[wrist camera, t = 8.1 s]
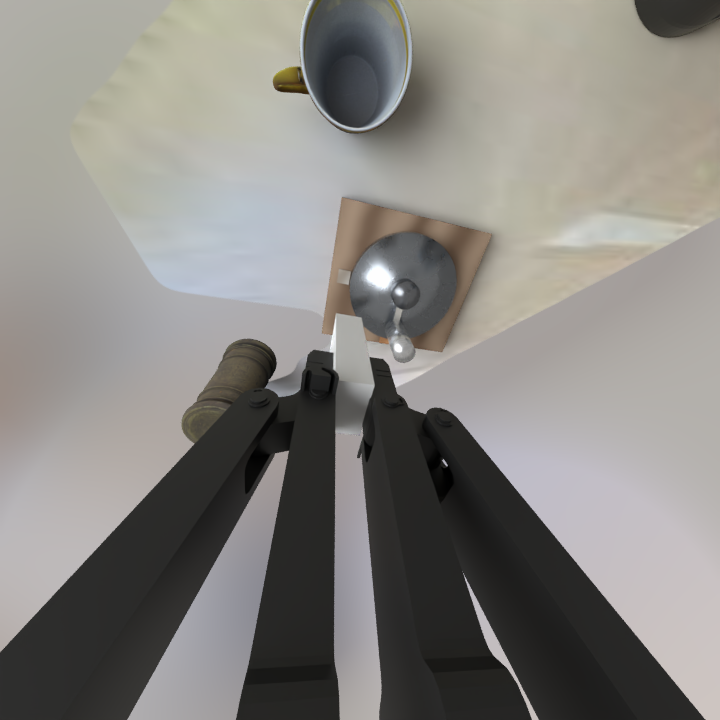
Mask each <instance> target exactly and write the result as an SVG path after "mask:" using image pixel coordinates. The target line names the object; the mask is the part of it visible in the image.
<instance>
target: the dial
mask: <svg viewBox="0 0 720 720" xmlns="http://www.w3.org/2000/svg"><path fill="white" fill-rule="evenodd" d="M456 284H457V277H456V270H455V266H454V263H453V261H452V258H451V257H450V255H449V253H448V252H447V251H446V249H445V248H444V247H443V246H442V245H441V244H439V243H438V242H437V241H435V240H434V239H432V238H430V237H427V236H425V235H423V234H420V233H416V232H409V231H405V232H396V233H391V234H388V235H386V236H383V237H381V238H379V239H378V240H376V241H375V242H373V243H372V244H371V245H370V246H368V247H367V248H366V249H365V251H364V252H363V253H362V254H361V255H360V257H359V258H358V260H357V262H356V264H355V266H354V268H353V271H352V274H351V278H350V299H351V304H352V308H353V311H354V313H355V315H356V317H361V318H362V323H363V326H364V327H365V328H366V329H368V330H369V331H370V332H372V333H373V334H375V335H377V336H380V337H383V338H386V339H388V341H389V344H390V347H391V350H392V353H393V356H394V358H395V360H396V361H398V362H401V363H405V362H409V361H410V360H412V359H413V358H414V356H415V348H414V346H413V344H412V342H411V340H410V338H413V337H416V336H419V335H421V334H423V333H425V332H427V331H428V330H430V329H431V328H433V327H434V326H435V325H436V324H437V323H439V321H440V320H441V319H442V318H443V317H444V316H445V314H446V313H447V311H448V310H449V308H450V306H451V304H452V302H453V299H454V296H455V292H456Z"/></svg>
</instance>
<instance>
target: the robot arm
mask: <svg viewBox="0 0 720 720" xmlns="http://www.w3.org/2000/svg"><path fill="white" fill-rule="evenodd" d="M635 5H636V8H637V12H638V14H639V17H640V19H641V20H642V22H643V24H644V25H645V26H646V27H647V28H648V29H649V30H650V31H651V32H653V33H654V34H656V35H659V36H663V37H676V36H681V35H685V34H687V33H690V32H692V31H694V30H697V29H699V28H701V27H703V26H705V25H707V24H709V23H711V22H713V21H715V20H717V19H719V18H720V0H635ZM362 427H363V438H362V441H361V445H360V448H359V451H358V455H357V458H360V455H361V454H362V465H363V476H364V488H365V499H366V510H367V522H368V533H369V544H370V554H371V567H372V578H373V589H374V601H375V612H376V624H377V634H378V646H379V658H380V669H381V680H382V681H381V683H382V694H381V703H380V711H379V714H380V715H379V720H532V719H531V716H530V713H529V711H528V708H527V705H526V703H525V701H524V698H523V696H522V694H521V692H520V689H519V687H518V685H517V683H516V681H515V680H514V678H513V677H512V675H511V674H510V672H509V670H508V669H507V668H506V667H505V666H504V665H503V664H502V663H501V662H500V661H498V660H497V659H496V658H495V657H494V656H493V655H492V653H491V651H490V650H489V648H488V646H487V643H486V641H485V639H484V636H483V633H482V630H481V627H480V624H479V621H478V618H477V615H476V612H475V608H474V606H473V602H472V599H471V596H470V593H469V590H468V588H467V584H466V581H465V578H464V575H465V577H466V579H467V581H468V583H469V584H470V587H471V589H472V591H473V593H474V595H475V596H476V598H477V600H478V602H479V604H480V606H481V608H482V610H483V612H484V614H485V616H486V618H487V620H488V621H489V624H490V626H491V628H492V629H493V631H494V633H495V635H496V637H497V639H498V641H499V643H500V645H501V647H502V649H503V651H504V653H505V655H506V656H507V659H508V660H509V662H510V664H511V666H512V668H513V670H514V672H515V674H516V676H517V678H518V680H519V682H520V684H521V685H522V688H523V690H524V692H525V694H526V695H527V697H528V699H529V701H530V703H531V705H532V707H533V709H534V711H535V713H536V715H537V717H538V719H539V720H705V719H704V718H703V716H702V715H701V714H700V713H699V712H698V710H697V709H696V708H695V707H694V706H693V704H692V703H691V702H690V701H689V699H688V698H687V697H686V696H685V695H684V693H683V692H682V691H681V690H680V688H679V687H678V686H677V685H676V684H675V682H674V681H673V680H672V679H671V677H670V676H669V675H668V674H667V673H666V671H665V670H664V669H663V668H662V667H661V665H660V664H659V663H658V662H657V661H656V659H655V658H654V657H653V656H652V654H651V653H650V652H649V651H648V649H647V648H646V647H645V646H644V645H643V643H642V642H641V641H640V640H639V639H638V637H637V636H636V635H635V634H634V633H633V631H632V630H631V629H630V628H629V626H628V625H627V624H626V623H625V622H624V620H623V619H622V618H621V617H620V616H619V614H618V613H617V612H616V611H615V609H614V608H613V607H612V606H611V604H610V603H609V602H608V601H607V600H606V598H605V597H604V596H603V595H602V594H601V592H600V591H599V590H598V589H597V587H596V586H595V585H594V584H593V583H592V581H591V580H590V579H589V578H588V577H587V575H586V574H585V573H584V572H583V570H582V569H581V568H580V567H579V566H578V565H577V563H576V562H575V561H574V559H573V558H572V557H571V556H570V555H569V553H568V552H567V551H566V550H565V549H564V547H562V545H561V544H560V542H559V541H558V540H557V539H556V538H555V536H554V535H553V534H552V533H551V531H550V530H549V529H548V528H547V527H546V526H545V524H544V523H543V522H542V521H541V519H540V518H539V517H538V516H537V514H536V513H535V512H534V511H533V510H532V508H531V507H530V506H529V505H528V504H527V502H526V501H525V500H524V499H523V498H522V496H521V495H520V494H519V493H518V491H517V490H516V489H515V488H514V486H513V485H512V484H511V483H510V482H509V480H508V479H507V478H506V477H505V476H504V474H503V473H502V472H501V471H500V470H499V468H498V467H497V466H496V465H495V463H494V462H493V461H492V460H491V458H490V457H489V456H488V455H487V454H486V452H485V451H484V450H483V449H482V448H481V447H480V445H479V444H478V443H477V442H476V440H475V439H474V438H473V437H472V435H471V434H470V433H469V432H468V431H467V429H466V428H465V427H464V426H463V424H462V423H461V422H460V421H459V420H458V418H457V417H456V416H454V415H453V414H452V413H451V412H449V411H447V410H444V409H442V408H431V409H429V410H428V411H427V413H426V414H423V413H420V412H417V411H414V410H412V409H410V408H408V405H407V403H406V401H405V399H404V398H402V397H401V396H400V395H398V394H397V392H396V388H395V385H394V382H393V378H392V375H391V373H390V368H389V365H388V364H387V363H386V362H385V361H384V360H383V359H378V358H371V357H369V353H368V348H367V343H366V338H365V333H364V328H363V323H362V318H361V317H355V316H349V315H344V314H338V313H336V318H335V323H334V329H333V335H332V341H331V347H330V352H325V351H318V350H313V351H312V352H310V353H309V354H308V358H307V363H306V368H305V370H304V371H303V373H302V382H301V389H300V390H299V392H297V393H295V394H293V395H291V396H286V397H278V395H277V394H276V393H275V392H273V391H271V390H269V389H264V388H255V389H250V390H248V391H245V392H244V393H242V394H241V395H240V396H239V397H238V398H237V399H236V400H235V401H234V402H233V403H232V405H231V406H230V407H229V408H228V409H227V410H226V411H225V412H224V413H223V414H222V415H221V416H220V417H219V418H218V420H217V421H216V422H215V423H214V424H213V425H212V426H211V427H210V428H209V429H208V430H207V431H206V432H205V434H204V435H203V436H202V437H201V438H200V439H199V440H198V441H197V442H196V443H195V444H194V445H193V446H192V448H191V449H190V450H189V451H188V452H187V453H186V454H185V455H184V456H183V457H182V458H181V459H180V460H179V462H177V464H176V465H175V466H174V467H173V468H172V469H171V470H170V471H169V472H168V473H167V474H166V476H164V477H163V479H162V480H161V481H160V482H159V483H158V484H157V485H156V486H155V487H154V488H153V489H152V490H151V492H149V494H148V495H147V496H146V497H145V498H144V499H143V500H142V501H141V502H140V503H139V504H138V505H137V507H135V509H134V510H133V511H132V512H131V513H130V514H129V515H128V516H127V517H126V518H125V519H124V520H123V521H122V522H121V524H120V525H119V526H118V527H117V528H116V529H115V530H114V531H113V532H112V533H111V534H110V536H108V537H107V539H106V540H105V541H104V542H103V543H102V544H101V545H100V546H99V547H98V548H97V549H96V550H95V551H94V553H93V554H92V555H91V556H90V557H89V558H88V559H87V560H86V561H85V562H84V563H83V565H81V566H80V567H79V569H78V570H77V571H76V572H75V573H74V574H73V575H72V576H71V577H70V578H69V579H68V580H67V581H66V583H65V584H64V585H63V586H62V587H61V588H60V589H59V590H58V591H57V592H56V593H55V594H54V595H53V596H52V598H51V599H50V600H49V601H48V602H47V603H46V604H45V605H44V606H43V607H42V608H41V609H40V610H39V612H38V613H37V614H36V615H35V616H34V617H33V618H32V619H31V620H30V621H29V622H28V623H27V624H26V625H25V626H24V628H23V629H22V630H21V631H20V632H19V633H18V634H17V635H16V636H15V637H14V638H13V639H12V640H11V641H10V642H9V644H8V645H7V646H6V647H5V648H4V649H3V650H2V651H1V652H0V720H127V719H128V717H129V715H130V714H131V712H132V710H133V708H134V706H135V705H136V703H137V701H138V699H139V697H140V696H141V694H142V692H143V690H144V689H145V687H146V685H147V683H148V681H149V679H150V678H151V676H152V674H153V672H154V671H155V669H156V667H157V665H158V663H159V662H160V660H161V658H162V656H163V654H164V653H165V651H166V649H167V647H168V646H169V644H170V642H171V640H172V638H173V637H174V635H175V633H176V631H177V629H178V628H179V626H180V624H181V622H182V620H183V619H184V617H185V615H186V613H187V611H188V609H189V608H190V606H191V604H192V602H193V601H194V599H195V597H196V595H197V594H198V592H199V590H200V588H201V586H202V585H203V583H204V581H205V579H206V577H207V576H208V574H209V572H210V570H211V568H212V567H213V565H214V563H215V561H216V559H217V558H218V556H219V554H220V552H221V551H222V548H223V547H224V545H225V543H226V541H227V540H228V538H229V536H230V534H231V533H232V531H233V529H234V527H235V525H236V523H237V522H238V520H239V518H240V516H241V515H242V513H243V511H244V509H245V507H246V506H247V504H248V502H249V500H250V499H251V496H252V495H253V493H254V491H255V490H256V488H257V486H258V484H259V482H260V481H261V479H262V477H263V475H264V473H265V472H266V470H267V468H268V466H269V464H270V463H271V461H272V459H273V457H274V455H275V453H279V452H284V451H289V454H288V459H287V465H286V470H285V475H284V481H283V486H282V491H281V497H280V502H279V507H278V512H277V518H276V524H275V529H274V534H273V539H272V544H271V550H270V555H269V560H268V565H267V571H266V576H265V581H264V587H263V592H262V598H261V603H260V608H259V613H258V618H257V624H256V629H255V635H254V640H253V645H252V651H251V656H250V660H249V665H248V669H247V673H246V677H245V681H244V685H243V689H242V694H241V699H240V703H239V708H238V713H237V718H236V720H340V717H339V690H338V678H337V673H336V668H335V662H334V548H335V545H334V542H335V537H334V536H335V433H338V434H349V435H360V433H361V430H362ZM443 459H444V460H445V461H446V463H447V465H448V466H446V465H445V464H444V463H443V461H442V460H443ZM462 571H463V572H462ZM463 573H464V575H463Z"/></svg>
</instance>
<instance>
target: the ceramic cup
mask: <svg viewBox="0 0 720 720" xmlns="http://www.w3.org/2000/svg"><path fill="white" fill-rule="evenodd" d="M412 59H413V46H412V36H411V29H410V25H409V21H408V18H407V15H406V12H405V9H404V7H403V5H402V3H401V1H400V0H310V2H309V4H308V6H307V9H306V11H305V14H304V18H303V22H302V27H301V33H300V62H301V67H289V68H285V69H283V70H281V71H279V72H278V73H277V74H276V75H275V76H274V78H273V85H274V88H275V89H276V90H277V91H280V92H289V93H302V94H309V95H310V97H311V99H312V101H313V103H314V104H315V106H316V107H317V109H318V110H319V111H320V113H321V114H322V115H323V116H324V117H325V118H326V119H327V120H328V121H329V122H330V123H331V124H332V125H334V126H335V127H336V128H338V129H340V130H342V131H344V132H347V133H364V132H368V131H371V130H374V129H376V128H378V127H380V126H381V125H382V124H384V123H385V122H386V121H387V120H388V119H389V118H390V117H391V116H392V115H393V114H394V112H395V111H396V110H397V108H398V107H399V105H400V103H401V101H402V99H403V97H404V95H405V93H406V90H407V87H408V83H409V80H410V76H411V69H412Z"/></svg>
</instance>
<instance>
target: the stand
mask: <svg viewBox="0 0 720 720" xmlns="http://www.w3.org/2000/svg"><path fill="white" fill-rule="evenodd" d="M405 231H409V232H416V233H420V234H423V235H425V236H427V237H430V238H432V239H434V240H435V241H437V242H438V243H439V244H441V245H442V246H443V247H444V248H445V249H446V251H447V252H448V253H449V255H450V257H451V258H452V261H453V263H454V266H455V270H456V277H457V284H456V292H455V296H454V299H453V302H452V304H451V306H450V308H449V310H448V311H447V313H446V314H445V316H444V317H443V318H442V319H441V320H440V321H439V323H437V324H436V325H435V326H434V327H433V328H431V329H430V330H428V331H427V332H425V333H423V334H421V335H419V336H416V337H413V338H410V340H411V342H412V344H413V346H414V348H418V349H425V350H431V351H438V352H442V351H443V349H444V347H445V344H446V342H447V340H448V337H449V335H450V333H451V330H452V328H453V325H454V323H455V321H456V318H457V316H458V314H459V311H460V309H461V307H462V304H463V302H464V299H465V297H466V295H467V292H468V290H469V288H470V285H471V283H472V281H473V278H474V276H475V273H476V271H477V269H478V266H479V264H480V262H481V259H482V257H483V254H484V252H485V250H486V247H487V245H488V243H489V240H490V238H491V236H492V234H489V233H485V232H481V231H477V230H473V229H469V228H465V227H461V226H457V225H453V224H449V223H445V222H441V221H436V220H432V219H428V218H424V217H420V216H416V215H412V214H408V213H404V212H400V211H396V210H392V209H388V208H383V207H379V206H375V205H371V204H367V203H363V202H359V201H355V200H351V199H347V198H343V197H342V200H341V207H340V213H339V220H338V227H337V233H336V240H335V247H334V253H333V260H332V267H331V274H330V280H329V287H328V294H327V300H326V307H325V314H324V320H323V327H322V333H323V334H329V335H333V329H334V323H335V318H336V313H338V314H344V315H349V316H355V317H356V315H355V313H354V311H353V308H352V304H351V299H350V278H351V274H352V271H353V268H354V266H355V264H356V262H357V260H358V258H359V257H360V255H361V254H362V253H363V252H364V251H365V249H366V248H367V247H368V246H370V245H371V244H372V243H373V242H375V241H376V240H378V239H379V238H381V237H383V236H386V235H388V234H391V233H396V232H405ZM363 328H364V333H365V338H366V340H367V341H374V342H379V343H385V344H389V341H388V339H386V338H383V337H380V336H377V335H375V334H373V333H372V332H370V331H369V330H368V329H366V328H365V327H364V326H363Z"/></svg>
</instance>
